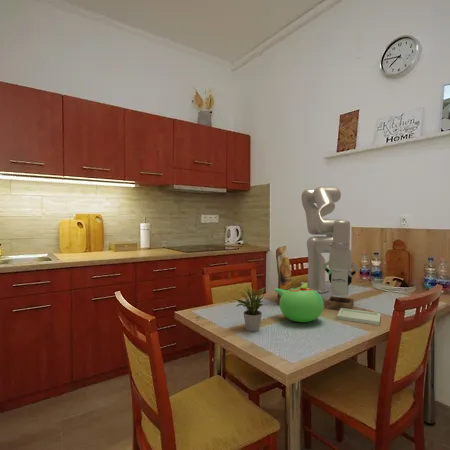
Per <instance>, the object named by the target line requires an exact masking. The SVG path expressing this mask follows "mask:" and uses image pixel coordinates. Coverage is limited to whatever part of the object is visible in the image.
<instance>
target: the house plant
mask: <svg viewBox="0 0 450 450" xmlns="http://www.w3.org/2000/svg"><path fill="white" fill-rule="evenodd" d="M252 289H253V290H252ZM252 289H251V290H250V288H249V287H248V286H246V289H245V292H246V294H247V295H246V294H245V293H244V292H242V291H239V290H238V289H236V290H235V289H234V290H235V291H236V292H238V293H240V294H241V296H242V297H243V298H244V299H245V300H243V299H239V298H236V297H234V298H232V299H233V300H235V301H236V302H237V303H238V304H236V306H235V307H240V306H242V307H244V308H245V310H244V311H243V312H242V313H243V319H244V324H245V325H244V326H245V330H246V331H249V332H258V331H259V330H260V325H261V321H262V316H263V312H262V311H260V310H259V309H260V307H262V306H263V301H262V299H263V298H264V297H265V294H264V291H265V289H266V287H262V288H259V289H258V290H257V291H256V289H255V288H252ZM255 291H256V292H255ZM264 306H268V304H267V303H266V304H264Z"/></svg>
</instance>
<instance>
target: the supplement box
mask: <svg viewBox="0 0 450 450" xmlns="http://www.w3.org/2000/svg"><path fill="white" fill-rule="evenodd" d="M348 276H349V274H348V270H342V269H332V274H331V283H330V296H335V297H342V298H348V295H349V289H350V288H349V286H350V285H348Z"/></svg>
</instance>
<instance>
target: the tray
mask: <svg viewBox="0 0 450 450" xmlns="http://www.w3.org/2000/svg"><path fill="white" fill-rule="evenodd" d="M336 319H337V320H342V321H349V322H353V323H354V322H355V323H361V324H366V323H367V325H373V324H375V325H374V326H379V325H380V323H381V312H380V313H379V312H373V311H367V310H359V309H358V310H357V309H345V308H341V309H340V310H338V313H337V314H336Z"/></svg>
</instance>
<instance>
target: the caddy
mask: <svg viewBox="0 0 450 450" xmlns="http://www.w3.org/2000/svg"><path fill="white" fill-rule="evenodd" d="M354 302H355V301H354V298H348V297H343V296H334V295H330V297H329V298H328V300H327V301H326V304H327V305H326V309H327V310H332V311H333V310H334V311H340V309H341V308H345V309H352V310H354V306H355V305H354Z"/></svg>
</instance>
